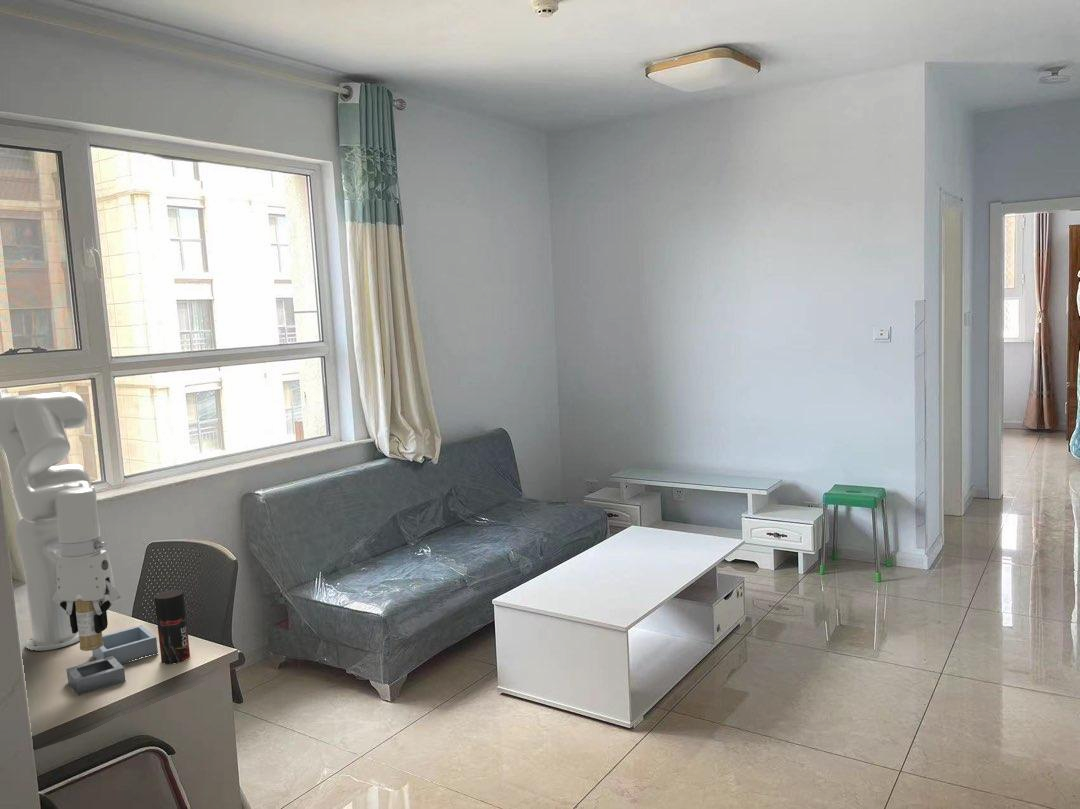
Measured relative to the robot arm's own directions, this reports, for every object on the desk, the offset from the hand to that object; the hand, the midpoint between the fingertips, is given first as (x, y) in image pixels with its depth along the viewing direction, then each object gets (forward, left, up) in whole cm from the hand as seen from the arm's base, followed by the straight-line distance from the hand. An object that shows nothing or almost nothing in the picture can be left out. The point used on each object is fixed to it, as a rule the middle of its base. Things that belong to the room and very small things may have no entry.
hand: (89, 629), depth 173 cm
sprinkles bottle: (0, 0, -4) cm, 4 cm away
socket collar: (+1, 0, -11) cm, 11 cm away
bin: (-10, +9, -11) cm, 17 cm away
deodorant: (+1, +16, -11) cm, 20 cm away
